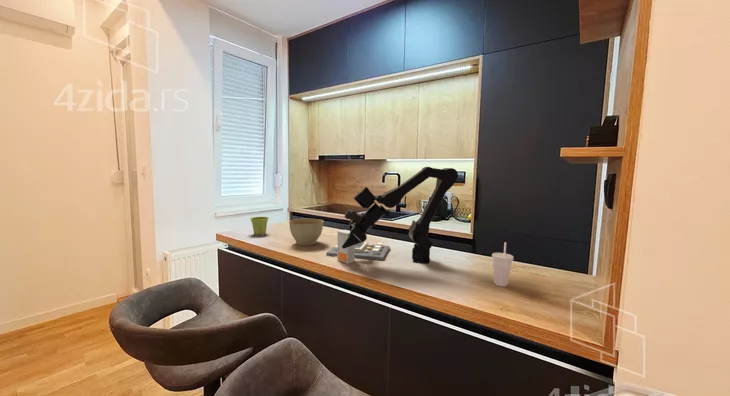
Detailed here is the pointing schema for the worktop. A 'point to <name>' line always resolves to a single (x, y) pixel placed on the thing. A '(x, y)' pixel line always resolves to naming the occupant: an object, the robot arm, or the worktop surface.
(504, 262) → the smoothie
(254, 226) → the plant pot
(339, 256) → the skincare box
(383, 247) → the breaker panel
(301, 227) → the planter bowl
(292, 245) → the worktop surface
